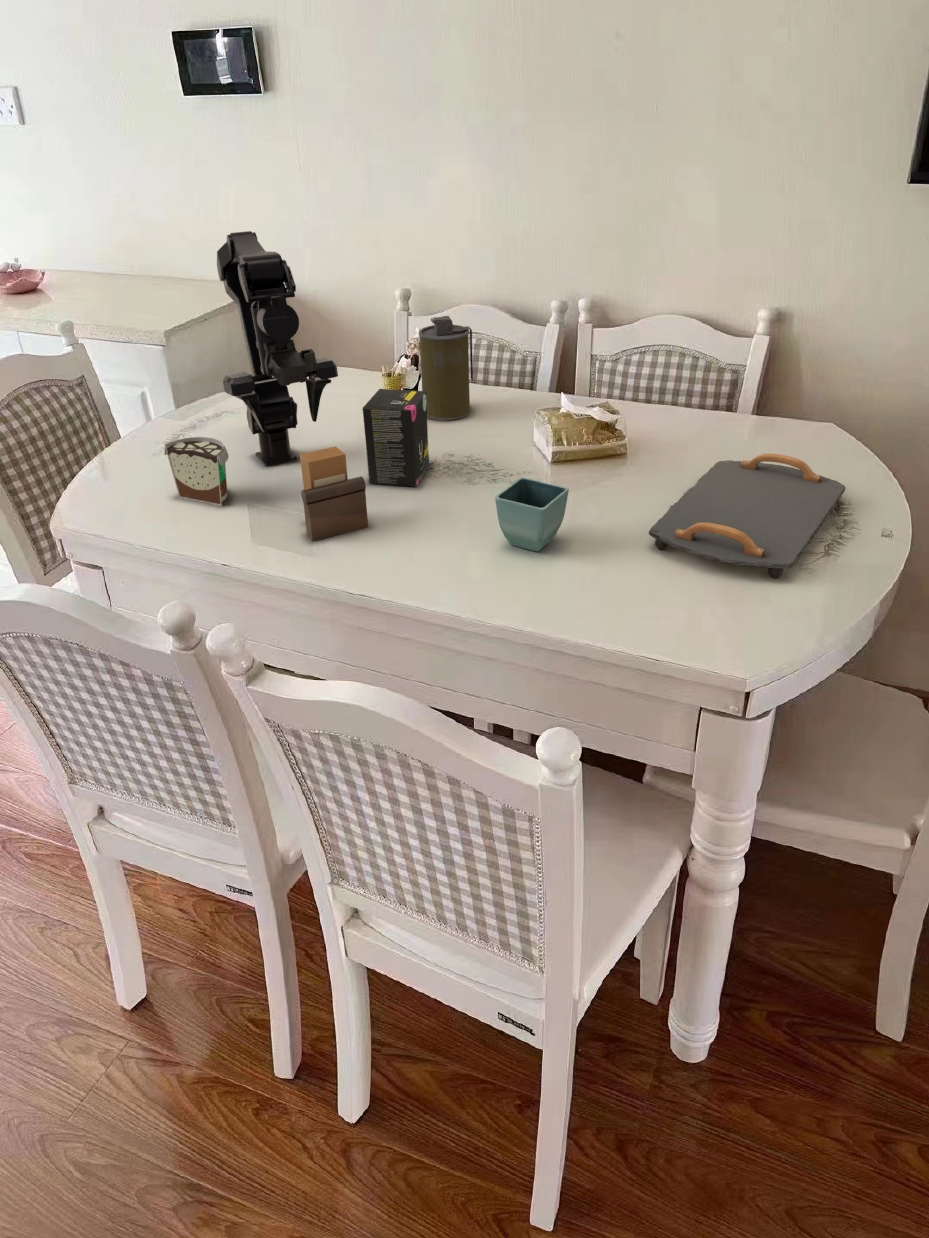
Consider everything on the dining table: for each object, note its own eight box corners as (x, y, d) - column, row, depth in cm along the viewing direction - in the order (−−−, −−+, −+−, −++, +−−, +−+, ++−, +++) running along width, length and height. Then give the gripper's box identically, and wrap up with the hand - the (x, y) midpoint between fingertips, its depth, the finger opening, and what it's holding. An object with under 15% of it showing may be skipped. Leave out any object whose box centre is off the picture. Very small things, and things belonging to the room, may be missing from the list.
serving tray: (783, 592, 140) (789, 554, 137) (635, 554, 151) (638, 519, 148) (849, 493, 168) (856, 460, 165) (721, 468, 179) (725, 436, 175)
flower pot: (542, 561, 150) (543, 509, 145) (493, 548, 154) (493, 496, 149) (568, 538, 156) (570, 487, 152) (520, 526, 160) (521, 476, 156)
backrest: (306, 536, 159) (300, 488, 155) (363, 521, 163) (359, 474, 159) (311, 541, 158) (305, 493, 153) (369, 526, 162) (365, 479, 157)
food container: (249, 493, 174) (241, 441, 169) (228, 507, 169) (219, 454, 164) (194, 483, 178) (184, 432, 173) (172, 496, 174) (162, 444, 168)
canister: (426, 423, 202) (422, 327, 191) (418, 406, 210) (414, 313, 200) (477, 418, 203) (476, 322, 193) (467, 402, 212) (465, 309, 201)
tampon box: (417, 488, 174) (412, 410, 166) (367, 484, 176) (361, 407, 168) (431, 464, 183) (427, 389, 176) (384, 461, 185) (378, 387, 177)
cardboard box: (308, 523, 163) (299, 454, 157) (342, 514, 166) (336, 446, 159) (316, 532, 160) (308, 462, 154) (352, 523, 163) (345, 454, 156)
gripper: (231, 348, 151) (250, 445, 157) (342, 329, 158) (356, 423, 165) (213, 342, 160) (232, 434, 167) (319, 324, 167) (333, 413, 174)
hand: (289, 426), depth 168 cm, fingers open, 9 cm apart
